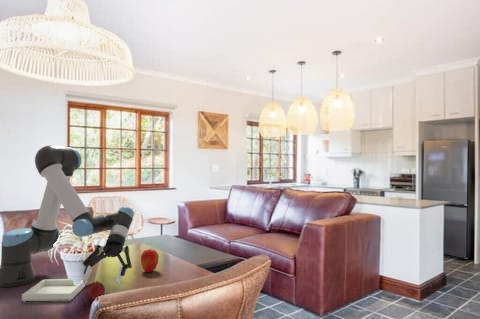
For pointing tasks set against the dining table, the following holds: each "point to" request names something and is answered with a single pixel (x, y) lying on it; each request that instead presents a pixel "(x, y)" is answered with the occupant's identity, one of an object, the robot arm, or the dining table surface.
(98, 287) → the onion
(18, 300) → the dining table surface
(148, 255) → the apple
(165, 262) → the dining table surface
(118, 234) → the robot arm
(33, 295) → the dish
